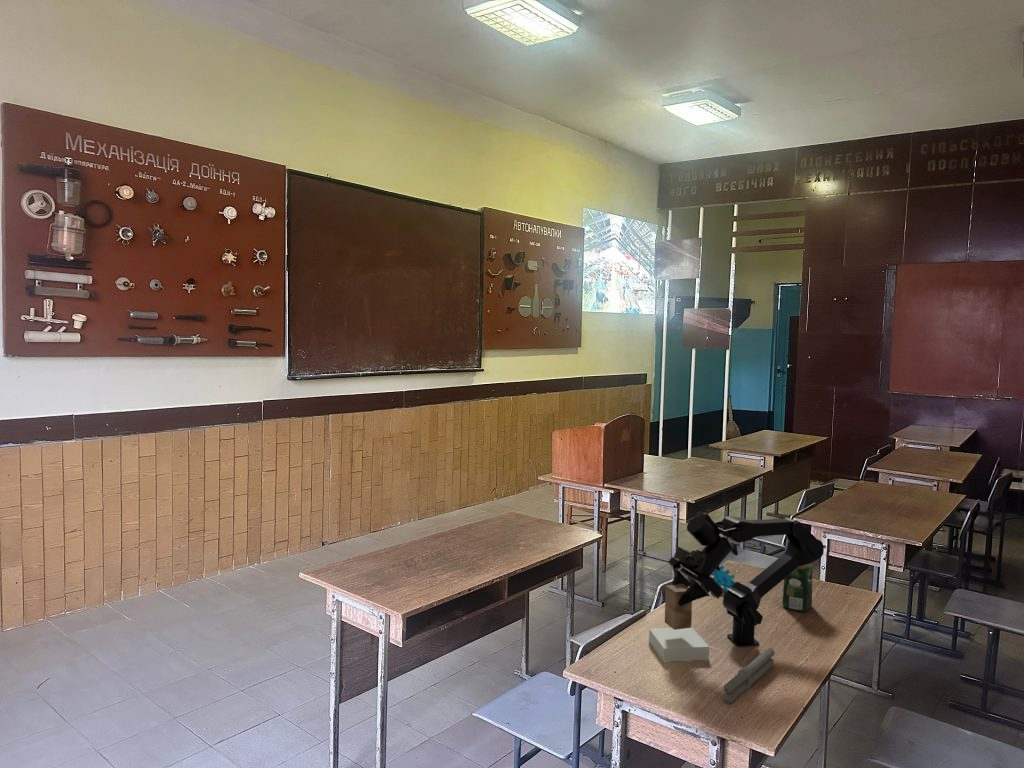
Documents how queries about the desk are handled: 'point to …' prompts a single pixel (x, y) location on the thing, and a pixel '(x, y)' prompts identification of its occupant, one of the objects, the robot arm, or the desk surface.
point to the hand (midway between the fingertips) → (673, 600)
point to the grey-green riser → (678, 644)
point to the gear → (723, 578)
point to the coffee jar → (798, 589)
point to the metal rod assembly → (748, 675)
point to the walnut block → (677, 607)
